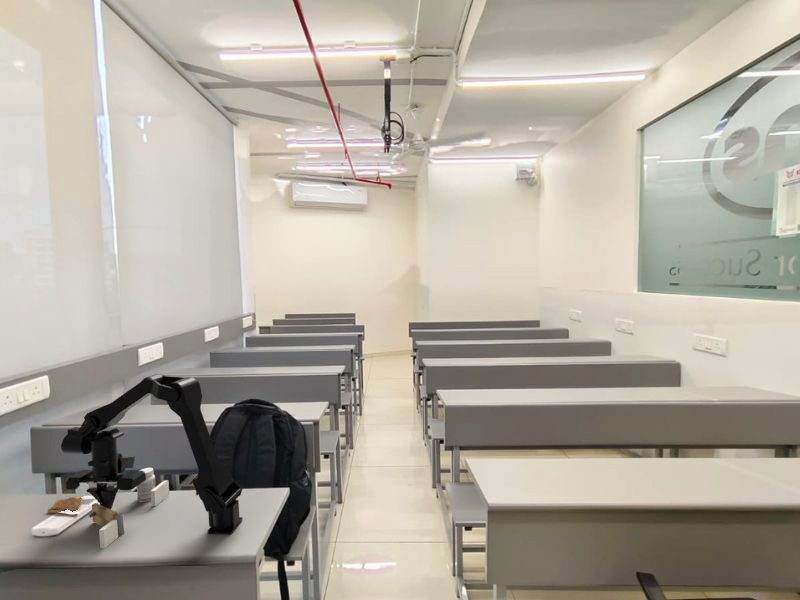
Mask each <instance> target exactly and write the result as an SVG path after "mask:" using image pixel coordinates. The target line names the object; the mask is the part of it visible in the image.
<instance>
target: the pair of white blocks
mask: <svg viewBox="0 0 800 600" xmlns="http://www.w3.org/2000/svg"><path fill="white" fill-rule="evenodd" d="M169 496H170V485H169V479H166V480H165V479H164V480H163V481H162V482H160V483H159V484H158V485H156V487H155V488H154V489H152V490H151V500H150V502H151V503H150V504H151V507H156V506H158V505H159V504H160V503H162V502H163V501H164V500H165V499H166V498H168V497H169ZM98 530H99V531H98V532H99V545H100V547H99V548H100V549H106V548H107V547H108V546H109V545H111V544H112V543H113V542H114V541H115V540H117V539H118V538H119V537H120V536H122V535H124V534H125V526H124V514H123V513H122V512H120V513H118V512H117V514H116V515H115V516H114V520H112V521H110V522H109V523H108V524H106V525H105V526H104V527H103V526H102V527H101V528H100V529H98Z"/></svg>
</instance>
